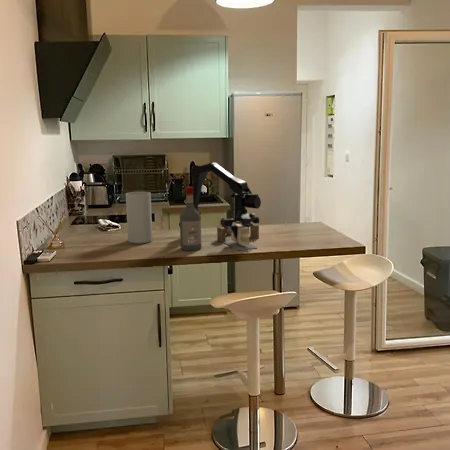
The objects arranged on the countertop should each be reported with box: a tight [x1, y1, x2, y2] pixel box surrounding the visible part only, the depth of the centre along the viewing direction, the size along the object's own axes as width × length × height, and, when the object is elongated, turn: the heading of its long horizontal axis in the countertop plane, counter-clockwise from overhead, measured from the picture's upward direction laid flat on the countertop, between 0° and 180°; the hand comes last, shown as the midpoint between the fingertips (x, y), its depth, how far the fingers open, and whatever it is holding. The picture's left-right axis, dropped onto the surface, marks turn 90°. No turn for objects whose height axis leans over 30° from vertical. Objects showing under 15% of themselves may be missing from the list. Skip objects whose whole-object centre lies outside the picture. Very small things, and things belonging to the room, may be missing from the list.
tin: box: [223, 217, 242, 236], centre depth 288 cm, size 15×3×8 cm, turn 143°
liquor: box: [179, 186, 202, 252], centre depth 252 cm, size 9×9×30 cm
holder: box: [216, 222, 260, 244], centre depth 273 cm, size 21×6×7 cm, turn 114°
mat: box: [223, 240, 258, 252], centre depth 260 cm, size 10×18×1 cm, turn 24°
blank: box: [230, 224, 250, 245], centre depth 259 cm, size 12×4×8 cm, turn 24°
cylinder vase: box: [125, 191, 153, 245], centre depth 270 cm, size 12×12×25 cm
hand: (240, 238), depth 259 cm, fingers closed on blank, 4 cm apart
